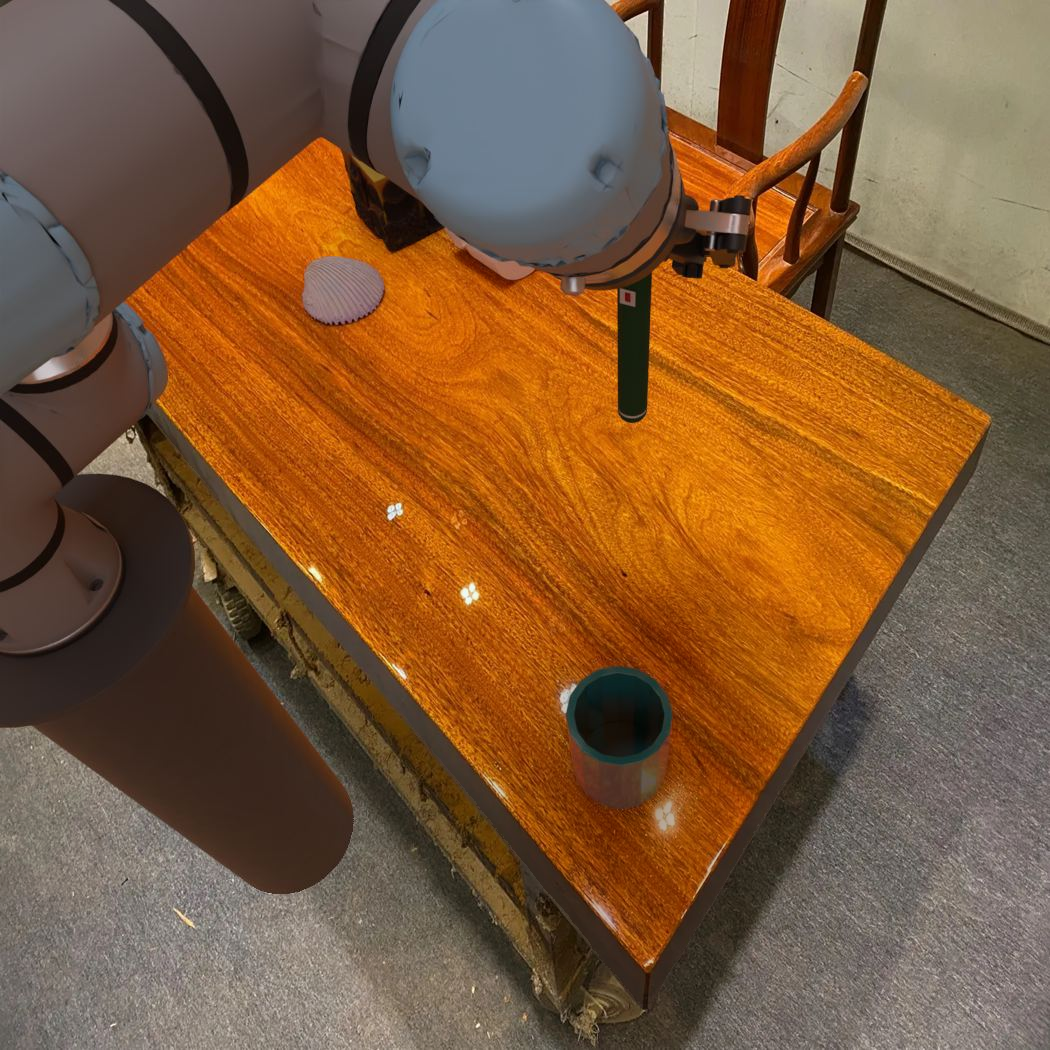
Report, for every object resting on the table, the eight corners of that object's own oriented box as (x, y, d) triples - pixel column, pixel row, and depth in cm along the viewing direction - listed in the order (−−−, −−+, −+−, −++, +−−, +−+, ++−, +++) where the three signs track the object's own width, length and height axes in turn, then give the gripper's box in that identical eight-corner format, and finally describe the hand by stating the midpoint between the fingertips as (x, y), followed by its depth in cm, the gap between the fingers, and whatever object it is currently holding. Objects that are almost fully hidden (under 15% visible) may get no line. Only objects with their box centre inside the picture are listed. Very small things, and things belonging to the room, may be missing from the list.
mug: (494, 295, 108) (486, 239, 102) (449, 255, 113) (438, 200, 106) (575, 248, 112) (572, 191, 105) (528, 212, 116) (522, 155, 110)
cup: (608, 827, 73) (605, 785, 65) (555, 750, 77) (546, 701, 69) (686, 774, 75) (693, 727, 66) (630, 701, 79) (631, 648, 70)
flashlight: (587, 428, 70) (577, 203, 53) (614, 381, 72) (612, 152, 56) (651, 448, 68) (661, 222, 52) (676, 399, 71) (693, 169, 54)
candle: (391, 254, 114) (373, 184, 106) (354, 214, 119) (334, 144, 111) (462, 220, 117) (449, 149, 108) (422, 182, 122) (408, 111, 114)
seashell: (326, 234, 112) (387, 242, 107) (344, 272, 116) (403, 282, 111) (271, 284, 108) (331, 296, 102) (292, 322, 112) (351, 335, 106)
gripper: (388, 270, 42) (507, 297, 65) (796, 302, 39) (773, 320, 61) (398, 93, 41) (516, 184, 63) (824, 111, 37) (789, 200, 60)
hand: (642, 251), depth 62 cm, fingers closed on flashlight, 5 cm apart
